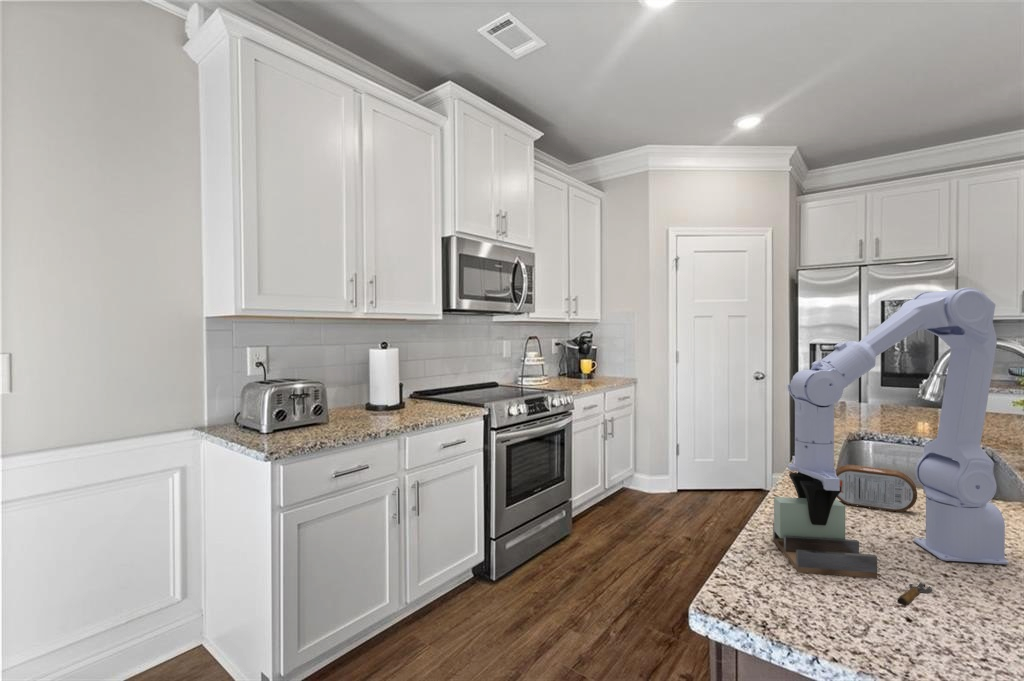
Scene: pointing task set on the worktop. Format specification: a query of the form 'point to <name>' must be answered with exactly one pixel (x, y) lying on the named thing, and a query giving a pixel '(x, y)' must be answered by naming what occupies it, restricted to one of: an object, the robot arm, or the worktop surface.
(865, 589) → the worktop surface
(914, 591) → the can opener
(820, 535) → the tall sage green block
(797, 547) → the rack
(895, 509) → the tin
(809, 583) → the worktop surface
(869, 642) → the worktop surface
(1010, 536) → the worktop surface
